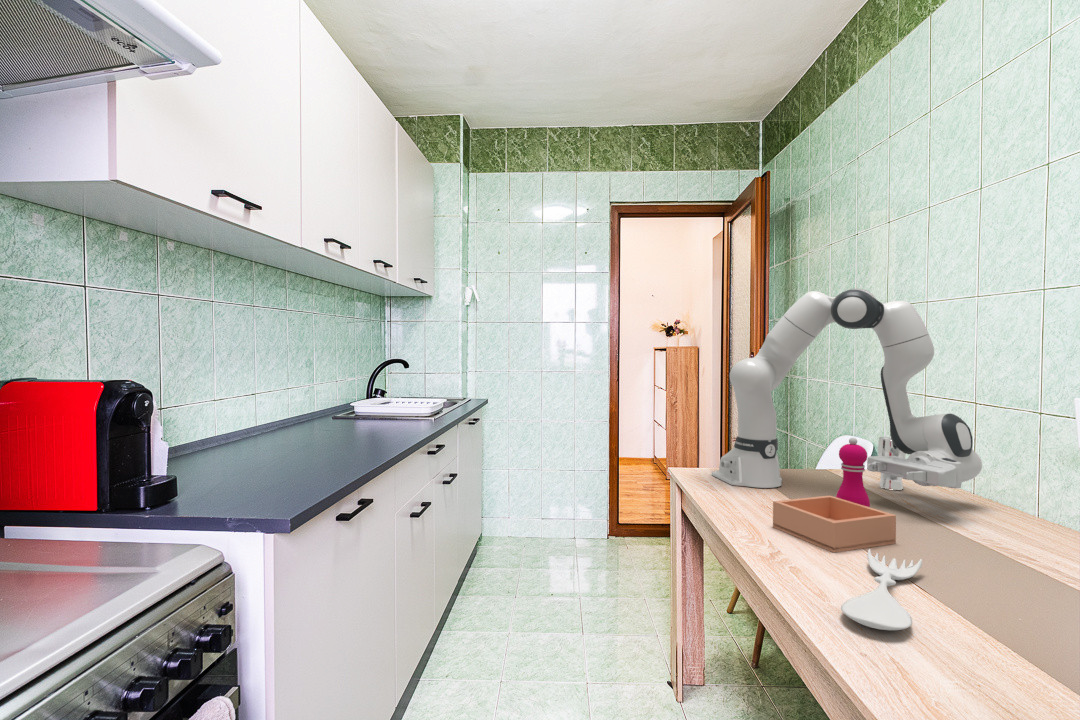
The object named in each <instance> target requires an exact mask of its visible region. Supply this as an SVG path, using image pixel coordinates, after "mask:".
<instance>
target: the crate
mask: <svg viewBox="0 0 1080 720" xmlns="http://www.w3.org/2000/svg"><path fill="white" fill-rule="evenodd" d="M772 528H774V529H777V530H779V531H780V532H781V531H782V532H784V533H786V534H788V535H791V536H792V537H793V536H794V537H796V538H798V539H800V540H803V541H805V542H808V543H810V544H813V545H815V546H817V547H820V548H822V549H825V550H827V551H829V552H832V553H841V552H847V551H854V550H861V549H868V548H875V547H880V546H887V545H894V544H896V542H897V536H896V535H897V533H896V531H897V515H896V514H893V513H890V512H887V511H883V510H879V509H876V508H873V507H871V506H870V507H867V506H863V505H860V504H857V503H853V502H850V501H847V500H843V499H840V498H837V497H836V496H833V495H823V496H822V495H820V496H813V497H804V498H791V499H781V500H775V501H772Z"/></svg>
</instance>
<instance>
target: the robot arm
mask: <svg viewBox="0 0 1080 720" xmlns="http://www.w3.org/2000/svg"><path fill="white" fill-rule="evenodd" d="M832 323H836V324H837V325H838V326H840V327H842V328H844V329H849V330H859V329H872V330H873V331H874V333H875V335H876V336H877V338H878V341H879V343H880V346H881V349H882V351H883V354H884V355H883V357H884V361H883V362H884V364H883V365H882V367H881V368H880V382H881V388H882V391H883V395H884V396H883V397H884V402H885V406H886V410H887V415H888V421H889V434H890V436H889V437H891V440H892V442H893V444H894V445H895V446H896V447H897V448H898V449H899V450H901V451H902V452H904V453H906V454H905V455H909V456H908V457H907V459H906V458H905V459H903V458H897V457H892V456H878V455H870V456H867V460H866V466H867V471H868V472H871V473H872V472H873V473H874V472H878V473H879V474H881V473H885V474H889V475H893V476H898V477H902V480H907V481H912V482H913V483H915V484H917V485H918V486H921V487H922V486H923V487H944V488H948V489H961V488H962V483H964V482H969V481H971V480H974V478H976V477H977V476H979V475H980V473H981V471H982V469H983V462H982V459H981V457H980V455H979V454H978V453H977V452H976V451H975V450H974V449H973V444H974V442H973V440H974V439H973V434H972V431H971V429H970V427H969V425H968V424H967V423H966V422H965V421H964V420H963V419H962V418H961V417H959V416H958V415H956V414H954V413H944V414H942V413H941V414H933V415H927V416H918V417H917V416H914V415H913V414H912V409H911V406H910V402H909V396H908V391H907V385H908V382H909V381H910V380H911V379H912V378H913V377H914V376H916V375H917V374H919V373H920V372H921V371H922V372H923V370H924V369H926V368H927V367H928V366H929V365H930V364H931V362H932V360H933V357H934V355H935V348H934V344H933V341H932V338H931V336H930V334H929V331H928V329H927V327H926V324H925V322H924V321H923V319H922V318H921V316H920V314H919V313H918V310H916V308H915V307H914V305H913V304H912V303H911V302H909V301H906V300H892V301H889V302H880V300H878V299H877V298H876V297H875V295H874V294H873V293H871V292H870V291H868V290H866V289H863V288H859V287H858V288H851V289H847V290H844V291H842V292H841V293H839V294H838V295H836V296H829V295H827V294H826V293H823V292H821V291H817V290H811V291H807V292H806V293H804V294H803V295H802V296H801V297H799V298H798V299H797V300H796V301H795V302H794V303H793V304H792V305H791V306H790V307H789V308H788V309H787V310H786V312H785V313H784V314H783V315H782V316H781V318H780V319H779V320H778V321H777V322H776V323H775V325H774V326H773V327H772V329H771V330H770V331H769V332H768V333H767V335H766V337H765V339H764V342H763V343H762V346H761V347H760V349H759V350H758V352H757V354H756V355H755V356H753V357H746V358H744V359H741V360H739V361H737V362H736V363H735V364H734V365H733V366H732V367H731V370H730V372H729V382H730V383H731V385H732V387H733V390H734V391H733V392H734V395H735V400H736V407H737V426H738V427H737V431H738V432H737V436H736V437H732V442H734V445H733V448H732V449H731V450H728V452H726V453H725V454H723V456H721V457H720V459H719V467H718V470H714V471H712V472H711V476H712V477H715V478H716V479H719V480H721V481H723V482H725V483H727V484H728V485H731V486H738V487H740V486H741V487H749V488H761V489H763V488H764V489H767V488H768V489H769V488H770V489H771V488H777V487H778V488H779V487H780V486H782V485H783V484H782V482H783V478H782V477H781V473H780V462H779V455H778V453H777V451H778V449H779V448H778V447H779V442H778V440H779V439H778V438H777V411H776V409H775V407H774V402H773V396H772V391H773V390H775V389H777V388H778V387H779V386H780V385H781V383H782V382H783V380H785V378H786V377H787V375H788V374H789V372H790V371H791V369H792V368H793V366H794V365H795V363H796V362H797V361H798V360H799V358H800V356H801V355H802V354H803V353H804V351H805V350H806V349H807V348H808V347H809V346H810V345H811V343H812V342H813V341H814V340H816V338H817V337H818V336H819V334H820V333H821V332H822V331H823V330H824V329H825V328H826V327H827V326H828V325H830V324H832Z"/></svg>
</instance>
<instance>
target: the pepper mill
mask: <svg viewBox="0 0 1080 720" xmlns="http://www.w3.org/2000/svg"><path fill="white" fill-rule="evenodd" d="M838 457H839V459H840V460H841V461H842V462H841V463H840V465H841V466H840V469H841V470H842V474H843V475H842V482H841V484H840V487H839V488H838V489H837V492H836V496H835V497H837V498H840V499H843V500H847V501H850V502H853V503H857V504H860V505H863V506H867V507H870V508H871V506H870V505H871V503H870V502H871V501H870V498H869V495H868V492H867V491H866V488H865V486H864V480H863V474H864V472H865V471H866V470H865V467H866V466H865V465H864V464H865V462H867V459H868V452H867V449H865V447H863V446H862V445H860V444H858V439H857V438H855V437H850V438H849V439H848V443H847V444H844V445H842V446H841V447H840V448H839V451H838Z"/></svg>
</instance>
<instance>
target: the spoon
mask: <svg viewBox="0 0 1080 720" xmlns="http://www.w3.org/2000/svg"><path fill="white" fill-rule="evenodd" d="M866 556H867V562H868V565H869V567H870V568H871V570H872V571H873V572H874V573H876V574H877V575H879V576H875V577H874V579H873V580H874V581H875V582H876V583H878V584H879V586H877V587H876V588H875V589H873V590H872V591H869V592H866V593H864V594H860V595H858V596H855V597H853V598H850V599H848V600H846V601H845V602H843V604H842V605H841V607H840V610H841V611H842V613H843V614H844V615H845V616H846V617H847V618H849V619H850V620H853V621H854V622H856V623H859V624H860V625H863V626H865V627H868V628H872V629H877V630H881V631H882V630H884V631H901V630H906V629H909V628H910V627H911V626H912V625H913V618H912V616H911V614H910V613H909V611H907V610H906V608H904V607H903V606H902V605H901V604H900V603H899V602H898V601H897V600H896V599H895V598H894V596H893V595H891V593H890V592H889V590H888V586H889V587H890V586H895V585H896V584H897V581H903V580H906V579H910V578H912V577H914V576H916V574H917V573H918V572H919V570H920V569H921V568H922V566H923V560H922V558H920V559H919V560H918V562H917V563H916V564H914V561H913V559H911V560H910V563H909V565H907V566H906V563H907V562H906V559H903V561H902V563H901V565H900V567H899V568H898V564H897V563H898V562H897V559H896V558H895V557H893V558H892V559H891V561H890V563H889V564H888V566H887V564H886V562H887V561H886V555H883V557H882V558H881V561H879V559H880V558H879V553H878V552H876V554H875V556H873V554H872V551H871V549H870V548H869V549H868V550H867V554H866Z"/></svg>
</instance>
